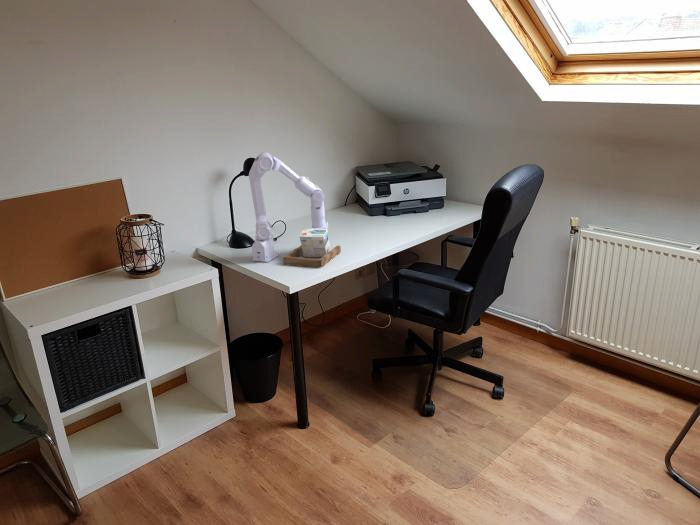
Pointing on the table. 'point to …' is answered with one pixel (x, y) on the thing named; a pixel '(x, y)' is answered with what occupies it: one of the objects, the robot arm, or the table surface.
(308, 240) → the light bulb box
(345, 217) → the table surface
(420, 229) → the table surface
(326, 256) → the walnut holder
